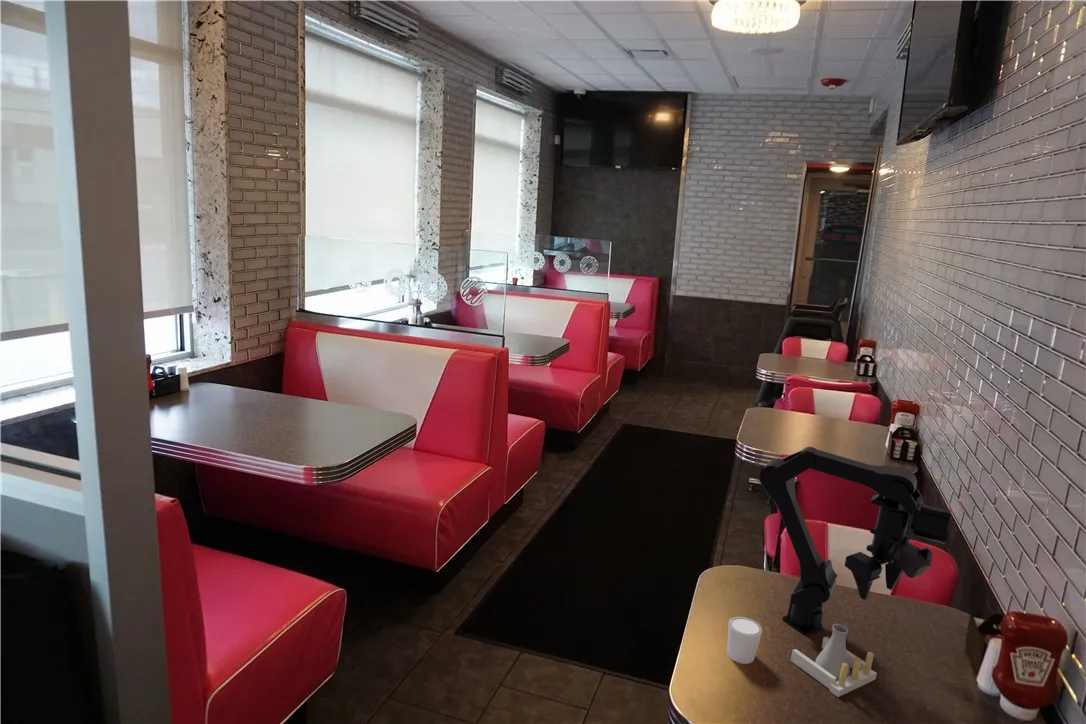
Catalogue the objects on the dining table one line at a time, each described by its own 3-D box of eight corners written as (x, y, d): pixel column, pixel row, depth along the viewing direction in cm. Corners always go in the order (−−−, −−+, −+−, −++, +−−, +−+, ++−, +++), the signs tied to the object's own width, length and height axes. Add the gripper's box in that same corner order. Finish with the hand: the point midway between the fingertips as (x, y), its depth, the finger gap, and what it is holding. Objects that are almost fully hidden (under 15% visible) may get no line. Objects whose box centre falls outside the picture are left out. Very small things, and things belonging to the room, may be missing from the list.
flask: (853, 685, 146) (863, 642, 144) (816, 678, 147) (825, 635, 145) (846, 663, 153) (855, 621, 151) (810, 656, 154) (819, 614, 152)
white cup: (759, 651, 154) (764, 622, 153) (754, 670, 148) (759, 640, 146) (727, 641, 157) (732, 612, 155) (720, 658, 151) (725, 629, 149)
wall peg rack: (788, 661, 152) (793, 636, 150) (826, 645, 158) (830, 621, 157) (837, 697, 142) (843, 670, 141) (875, 679, 148) (881, 653, 147)
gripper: (899, 554, 141) (884, 625, 144) (953, 536, 150) (937, 603, 154) (850, 529, 150) (836, 596, 154) (903, 513, 159) (889, 577, 163)
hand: (876, 593), depth 156 cm, fingers open, 9 cm apart
